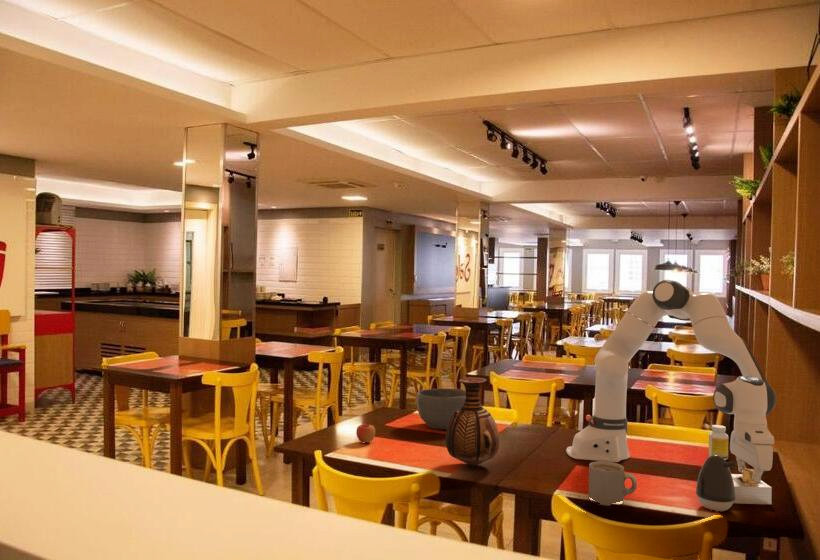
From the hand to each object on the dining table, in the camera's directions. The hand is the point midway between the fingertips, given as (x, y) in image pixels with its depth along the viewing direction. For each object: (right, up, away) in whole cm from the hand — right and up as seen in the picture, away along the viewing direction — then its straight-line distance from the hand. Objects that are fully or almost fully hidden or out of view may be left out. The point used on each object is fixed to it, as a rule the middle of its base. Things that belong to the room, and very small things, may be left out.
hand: (749, 476), depth 199 cm
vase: (-81, -5, +28) cm, 86 cm away
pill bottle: (+10, -6, +42) cm, 43 cm away
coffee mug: (-43, -6, -5) cm, 43 cm away
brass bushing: (0, -6, 0) cm, 6 cm away
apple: (-119, -4, +57) cm, 132 cm away
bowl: (-88, -4, +84) cm, 122 cm away
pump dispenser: (-15, -6, -10) cm, 19 cm away
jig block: (-3, -6, 0) cm, 7 cm away
